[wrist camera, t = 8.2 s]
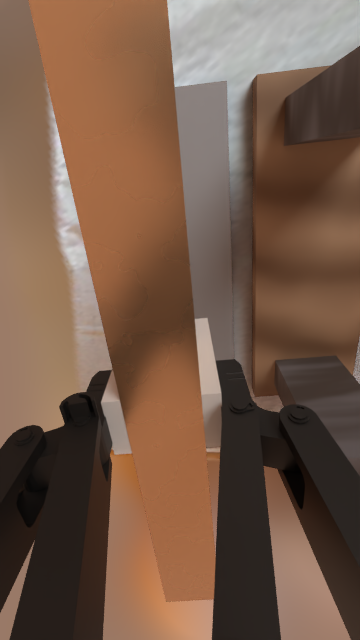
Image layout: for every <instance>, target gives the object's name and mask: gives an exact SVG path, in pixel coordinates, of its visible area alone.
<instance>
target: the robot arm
mask: <svg viewBox="0 0 360 640" xmlns="http://www.w3.org/2000/svg"><path fill="white" fill-rule="evenodd" d="M195 328H196V340H197V351H198V363H199V374H200V386H201V397H202V409H203V420H204V432H205V443H206V448H214V447H221V449H220V471H219V494H218V517H217V539H216V561H215V583H214V606H213V607H214V608H213V629H212V640H281V635H280V626H279V616H278V606H277V597H276V586H275V576H274V566H273V557H272V546H271V536H270V526H269V518H268V508H267V497H266V487H265V477H264V467H263V466H267V467H272V468H277V469H278V472H279V474H280V476H281V479H282V481H283V483H284V486H285V488H286V490H287V492H288V495H289V497H290V499H291V502H292V504H293V506H294V508H295V510H296V513H297V516H298V518H299V520H300V523H301V525H302V527H303V529H304V532H305V534H306V536H307V539H308V541H309V543H310V545H311V548H312V550H313V553H314V555H315V557H316V560H317V562H318V564H319V566H320V569H321V571H322V573H323V575H324V578H325V580H326V582H327V585H328V587H329V589H330V592H331V594H332V596H333V599H334V601H335V603H336V605H337V608H338V610H339V613H340V615H341V617H342V619H343V622H344V624H345V626H346V629H347V631H348V633H349V636H350V638H351V640H360V476H359V474H358V473H357V471H356V470H355V469H354V467H353V466H352V464H351V463H350V461H349V460H348V459H347V457H346V456H345V454H344V453H343V451H342V450H341V448H340V447H339V446H338V444H337V443H336V441H335V440H334V438H333V437H332V436H331V434H330V433H329V431H328V430H327V428H326V427H325V426H324V424H323V423H322V421H321V420H320V418H319V417H318V415H317V414H316V413H315V412H314V411H313V410H312V409H310V408H308V407H306V406H303V405H299V404H291V405H287V406H285V407H283V408H282V409H281V411H280V413H278V412H271V411H267V410H264V409H262V408H260V407H258V406H257V405H256V403H255V402H254V401H252V399H251V396H250V392H249V389H248V386H247V383H246V380H245V376H244V373H243V370H242V367H241V364H239V363H238V362H237V361H236V360H235V359H229V360H217V361H215V356H214V351H213V345H212V340H211V335H210V329H209V324H208V319H207V318H200V319H195ZM59 407H60V411H61V414H62V417H63V419H64V423H65V424H64V426H62V427H60V428H57V429H54V430H51V431H48V432H44V431H43V429H42V428H41V427H40V426H36V425H31V426H26V427H24V428H21V429H19V430H17V431H16V432H14V433H13V434H12V435H11V436H10V437H9V438H8V439H7V441H6V442H5V444H4V445H3V446H2V447H1V449H0V612H1V610H2V608H3V606H4V604H5V602H6V599H7V597H8V595H9V593H10V591H11V589H12V587H13V585H14V583H15V580H16V578H17V576H18V574H19V572H20V570H21V568H22V566H23V563H24V561H25V559H26V557H27V555H28V553H29V551H30V549H31V547H32V544H33V542H34V540H35V542H34V546H33V550H32V554H31V558H30V562H29V566H28V569H27V573H26V578H25V581H24V585H23V589H22V593H21V597H20V601H19V605H18V609H17V613H16V616H15V620H14V624H13V628H12V633H11V636H10V640H103V622H104V603H105V584H106V565H107V547H108V527H109V510H110V490H111V472H112V471H111V470H112V462H111V458H110V452H111V448H112V447H113V451H114V454H115V455H117V454H131V453H132V451H131V446H130V442H129V438H128V433H127V429H126V424H125V420H124V416H123V411H122V407H121V403H120V398H119V394H118V389H117V385H116V381H115V376H114V372H113V369H112V370H107V371H99V372H98V373H97V374H96V375H94V376H93V377H92V379H91V382H90V384H89V386H88V389H87V392H82V393H76V394H73V395H71V396H69V397H67V398H66V399H65V400H63V401H62V402H61V405H60V406H59Z"/></svg>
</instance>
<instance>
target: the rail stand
mask: <svg viewBox="0 0 360 640" xmlns="http://www.w3.org/2000/svg"><path fill="white" fill-rule="evenodd" d="M359 336H360V46H359V47H358V48H356V49H355V50H353V51H352V52H350V53H349V54H348V55H346V56H345V57H343V58H342V59H340V60H339V61H337V62H336V63H335V64H333V65H331V66H323V67H315V68H307V69H299V70H291V71H283V72H275V73H266V74H258V75H257V76H256V77H255V78H254V79H253V238H252V389H253V392H254V395H255V397H260V396H273V395H279V396H280V399H281V401H282V403H283V406H284V407H285V406H287V405H291V404H299V405H303V406H306V407H308V408H310V409H312V410H313V411H314V412H315V413H316V414H317V415H318V417H319V418H320V420H321V421H322V423H323V424H324V426H325V427H326V428H327V430H328V431H329V433H330V434H331V436H332V437H333V438H334V440H335V441H336V443H337V444H338V446H339V447H340V448H341V450H342V451H343V453H344V454H345V456H346V457H347V459H348V460H349V461H350V463H351V464H352V466H353V467H354V469H355V470H356V471H357V473H358V474H359V476H360V384H359V383H358V382H357V380H356V379H355V378H354V377H353V371H354V365H355V359H356V353H357V347H358V342H359Z"/></svg>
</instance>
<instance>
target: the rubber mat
mask: <svg viewBox="0 0 360 640" xmlns="http://www.w3.org/2000/svg"><path fill="white" fill-rule="evenodd" d="M174 88H175V99H176V111H177V122H178V134H179V145H180V156H181V168H182V179H183V191H184V202H185V214H186V225H187V237H188V248H189V260H190V271H191V283H192V294H193V305H194V317H195V319H200V318H207V319H208V324H209V329H210V335H211V340H212V345H213V351H214V356H215V361H217V360H229V359H234V327H233V291H232V255H231V219H230V183H229V147H228V110H227V81H221V82H213V83H205V84H197V85H189V86H181V87H174Z"/></svg>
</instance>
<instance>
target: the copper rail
mask: <svg viewBox="0 0 360 640" xmlns="http://www.w3.org/2000/svg"><path fill="white" fill-rule="evenodd" d="M28 1H29V5H30V9H31V14H32V18H33V22H34V27H35V31H36V35H37V40H38V44H39V49H40V53H41V57H42V62H43V66H44V70H45V75H46V79H47V84H48V88H49V92H50V97H51V101H52V105H53V110H54V114H55V119H56V123H57V127H58V132H59V136H60V140H61V145H62V149H63V153H64V158H65V162H66V167H67V171H68V175H69V180H70V184H71V188H72V193H73V197H74V202H75V206H76V210H77V215H78V219H79V223H80V228H81V232H82V237H83V241H84V245H85V250H86V254H87V258H88V263H89V267H90V271H91V276H92V280H93V285H94V289H95V293H96V298H97V302H98V306H99V311H100V315H101V320H102V324H103V328H104V333H105V337H106V341H107V346H108V350H109V354H110V359H111V363H112V368H113V372H114V376H115V381H116V385H117V389H118V394H119V398H120V403H121V407H122V411H123V416H124V420H125V424H126V429H127V433H128V438H129V442H130V446H131V451H132V455H133V459H134V464H135V468H136V472H137V477H138V481H139V486H140V490H141V494H142V499H143V503H144V507H145V512H146V516H147V521H148V525H149V529H150V534H151V538H152V542H153V547H154V551H155V556H156V560H157V564H158V568H159V573H160V577H161V582H162V586H163V590H164V595H165V599H166V602H171V601H190V600H209V599H214V583H215V561H216V558H215V546H214V535H213V523H212V512H211V500H210V490H209V477H208V466H207V454H206V443H205V432H204V420H203V409H202V397H201V386H200V374H199V363H198V351H197V340H196V328H195V317H194V305H193V294H192V283H191V271H190V260H189V248H188V237H187V225H186V214H185V202H184V191H183V179H182V168H181V156H180V145H179V134H178V122H177V111H176V99H175V88H174V76H173V65H172V53H171V42H170V30H169V19H168V7H167V0H28Z"/></svg>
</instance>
